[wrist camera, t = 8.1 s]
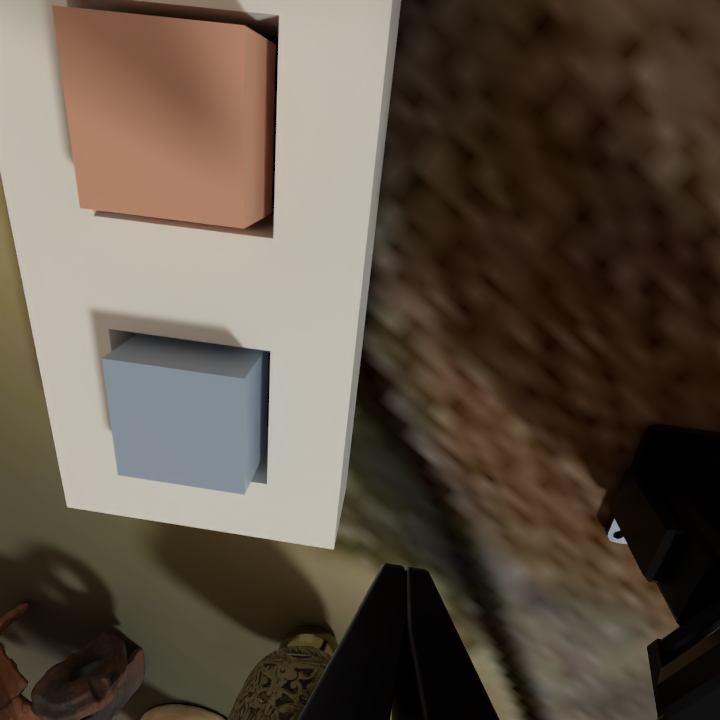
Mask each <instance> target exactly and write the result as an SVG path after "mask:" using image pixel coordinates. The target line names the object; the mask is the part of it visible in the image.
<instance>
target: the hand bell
mask: <svg viewBox="0 0 720 720" xmlns="http://www.w3.org/2000/svg"><path fill="white" fill-rule="evenodd" d="M140 720H226V719H224V718H223V717H222V716H220V715H218V714H215V713H213V712H210V711H208V710H205V709H202V708H198V707H194V706H188V705H182V704H167V705H161V706H157V707H155V708H152V709H150V710H149V711H147V712H146V713H145V714H144V715H143V716H142V717H141V719H140Z"/></svg>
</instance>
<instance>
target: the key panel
mask: <svg viewBox="0 0 720 720" xmlns="http://www.w3.org/2000/svg"><path fill="white" fill-rule="evenodd" d="M52 5H54V6H63V7H73V8H83V9H93V10H102V11H112V12H122V13H131V14H141V15H151V16H160V17H170V18H180V19H189V20H199V21H209V22H218V23H228V24H238V25H245V26H247V27H248V28H250V29H251V30H253V31H255V32H256V33H258V34H260V35H266V36H275V37H278V75H277V114H276V153H275V192H274V215H268V216H266V217H264V218H263V219H261V220H259V221H257V222H255V223H254V224H252V225H250V226H248V227H247V228H245V229H242V228H234V227H226V226H218V225H210V224H202V223H194V222H186V221H178V220H170V219H162V218H154V217H146V216H138V215H131V214H123V213H115V212H107V211H99V210H91V209H83V208H80V204H79V197H78V190H77V182H76V175H75V168H74V161H73V154H72V146H71V139H70V132H69V125H68V117H67V110H66V103H65V96H64V88H63V81H62V74H61V67H60V60H59V52H58V45H57V38H56V31H55V23H54V16H53V9H52ZM400 7H401V0H0V173H1V178H2V183H3V188H4V193H5V198H6V203H7V208H8V213H9V218H10V223H11V228H12V233H13V238H14V243H15V248H16V253H17V258H18V263H19V268H20V273H21V278H22V283H23V288H24V293H25V298H26V303H27V308H28V313H29V318H30V323H31V328H32V333H33V338H34V343H35V348H36V353H37V358H38V363H39V368H40V373H41V378H42V383H43V388H44V393H45V398H46V403H47V408H48V413H49V418H50V423H51V428H52V433H53V438H54V443H55V448H56V453H57V458H58V463H59V468H60V473H61V478H62V483H63V488H64V493H65V498H66V503H67V507H70V508H76V509H82V510H88V511H95V512H101V513H107V514H113V515H120V516H126V517H132V518H139V519H145V520H151V521H157V522H164V523H170V524H176V525H183V526H189V527H195V528H201V529H208V530H214V531H220V532H227V533H233V534H239V535H245V536H252V537H258V538H264V539H271V540H277V541H283V542H289V543H296V544H302V545H308V546H314V547H321V548H327V549H333V550H334V545H335V540H336V535H337V530H338V525H339V520H340V516H341V511H342V506H343V501H344V496H345V491H346V483H347V474H348V466H349V457H350V448H351V439H352V430H353V421H354V413H355V404H356V395H357V386H358V377H359V369H360V360H361V351H362V342H363V333H364V324H365V316H366V307H367V298H368V289H369V280H370V271H371V263H372V254H373V245H374V236H375V227H376V218H377V210H378V201H379V192H380V183H381V174H382V166H383V157H384V148H385V139H386V130H387V121H388V113H389V104H390V95H391V86H392V77H393V68H394V60H395V51H396V42H397V33H398V24H399V15H400ZM137 333H142V334H149V335H156V336H164V337H171V338H178V339H185V340H193V341H200V342H207V343H214V344H221V345H229V346H236V347H243V348H250V349H257V350H265V351H270V386H269V425H268V427H267V448H266V451H265V453H264V455H263V457H262V459H261V461H260V463H259V466H258V468H257V470H256V472H255V474H254V476H253V478H252V480H251V482H250V484H249V487H248V489H247V491H246V493H245V495H243V494H237V493H230V492H224V491H217V490H211V489H204V488H198V487H191V486H185V485H178V484H172V483H165V482H159V481H153V480H146V479H140V478H133V477H127V476H120V475H118V472H117V465H116V458H115V450H114V443H113V436H112V429H111V421H110V414H109V407H108V399H107V392H106V385H105V378H104V370H103V363H102V358H103V357H105V356H106V355H107V354H109V353H110V352H112V351H113V350H114V349H116V348H117V347H119V346H120V345H121V344H123V343H124V342H126V341H127V340H128V339H130V338H131V337H133V336H134V335H135V334H137Z"/></svg>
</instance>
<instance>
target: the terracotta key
mask: <svg viewBox="0 0 720 720" xmlns="http://www.w3.org/2000/svg"><path fill="white" fill-rule="evenodd" d="M52 9H53V16H54V23H55V31H56V38H57V45H58V52H59V60H60V67H61V74H62V81H63V88H64V96H65V103H66V110H67V117H68V125H69V132H70V139H71V146H72V154H73V161H74V168H75V175H76V182H77V190H78V197H79V204H80V208H83V209H91V210H99V211H107V212H115V213H123V214H131V215H138V216H146V217H154V218H162V219H170V220H178V221H186V222H194V223H202V224H210V225H218V226H226V227H234V228H242V229H245V228H247V227H248V226H250V225H252V224H254V223H255V222H257V221H259V220H261V219H263V218H264V217H266V216H268V215H270V214H272V182H273V140H274V98H275V57H276V44H274V43H273V42H271V41H269V40H268V39H266V38H264V37H263V36H261V35H260V34H258V33H256V32H255V31H253V30H251V29H250V28H248V27H247V26H245V25H238V24H228V23H218V22H209V21H199V20H189V19H180V18H170V17H160V16H151V15H141V14H131V13H122V12H112V11H102V10H93V9H83V8H73V7H63V6H54V5H52Z"/></svg>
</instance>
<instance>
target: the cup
mask: <svg viewBox="0 0 720 720" xmlns="http://www.w3.org/2000/svg"><path fill="white" fill-rule="evenodd" d="M337 647H338V643H337V641H336V639H335V638H334V637H333V636H332V635H331V634H330V633H329V632H327V631H326V630H324V629H321V628H319V627H315V626H300V627H297V628H294V629H292V630H291V631H290V632H289V633H288V634H287V635H286V636H285V637H284V638H283V640H282V642H281V643H280V647H279V649H278V650H276V651H274V652H272V653H270V654H269V655H267V656H266V657H265V658H263V659H262V660H261V661H260V662H259V663H258V664H257V665H256V667H255V668H254V669H253V670H252V671H251V673H250V675H249V676H248V678H247V679H246V681H245V683H244V685H243V687H242V689H241V691H240V693H239V695H238V697H237V699H236V701H235V703H234V706H233V708H232V710H231V712H230V715H229V717H228V719H227V720H298V718H299V716H300V714H301V712H302V711H303V709H304V707H305V705H306V703H307V701H308V700H309V698H310V696H311V694H312V692H313V690H314V689H315V687H316V685H317V683H318V681H319V680H320V678H321V676H322V674H323V672H324V670H325V669H326V667H327V665H328V663H329V661H330V659H331V658H332V656H333V654H334V652H335V650H336V648H337Z"/></svg>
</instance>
